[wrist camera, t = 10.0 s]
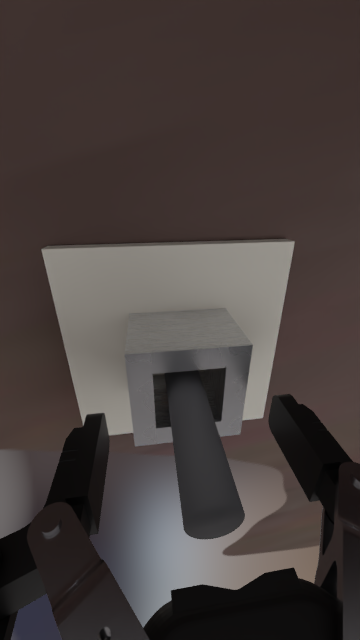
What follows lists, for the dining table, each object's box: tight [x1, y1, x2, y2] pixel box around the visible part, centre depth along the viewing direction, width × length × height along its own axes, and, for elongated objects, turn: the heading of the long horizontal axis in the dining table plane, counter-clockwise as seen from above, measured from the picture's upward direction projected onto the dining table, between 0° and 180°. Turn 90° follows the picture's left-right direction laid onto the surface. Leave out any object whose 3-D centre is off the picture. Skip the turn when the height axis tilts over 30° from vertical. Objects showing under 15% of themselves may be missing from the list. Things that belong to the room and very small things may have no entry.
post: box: [41, 239, 295, 539], centre depth 13 cm, size 14×14×11 cm
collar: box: [125, 308, 253, 446], centre depth 15 cm, size 6×6×4 cm
